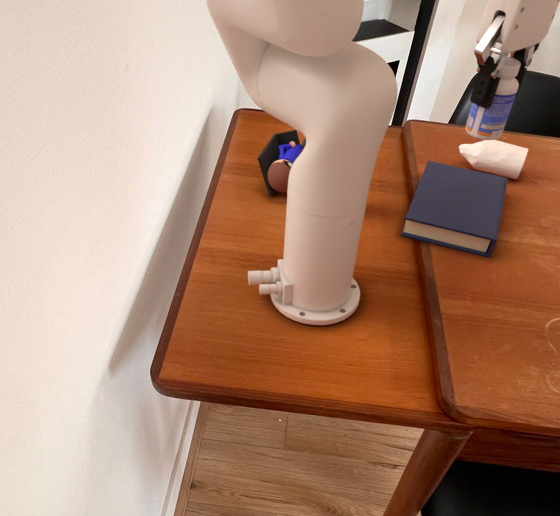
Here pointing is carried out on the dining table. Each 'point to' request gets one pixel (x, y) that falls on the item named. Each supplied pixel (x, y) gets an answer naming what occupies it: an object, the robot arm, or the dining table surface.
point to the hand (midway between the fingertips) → (493, 98)
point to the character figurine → (279, 160)
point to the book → (457, 209)
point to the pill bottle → (495, 105)
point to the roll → (495, 157)
